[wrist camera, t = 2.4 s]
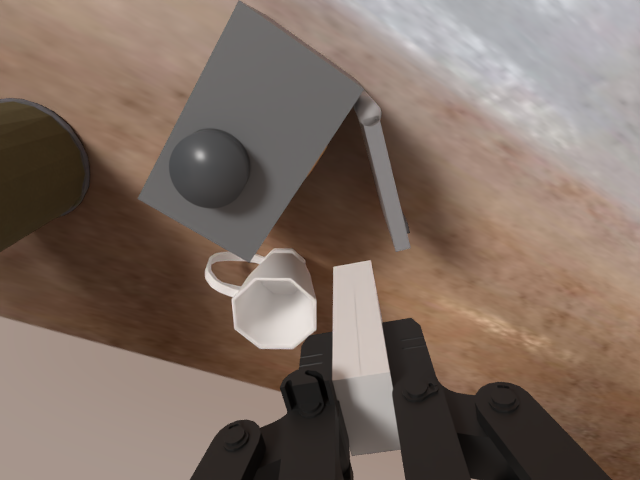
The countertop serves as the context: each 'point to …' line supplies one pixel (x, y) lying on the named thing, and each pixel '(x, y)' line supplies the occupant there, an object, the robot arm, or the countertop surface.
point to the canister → (37, 169)
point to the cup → (271, 299)
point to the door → (382, 169)
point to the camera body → (249, 133)
